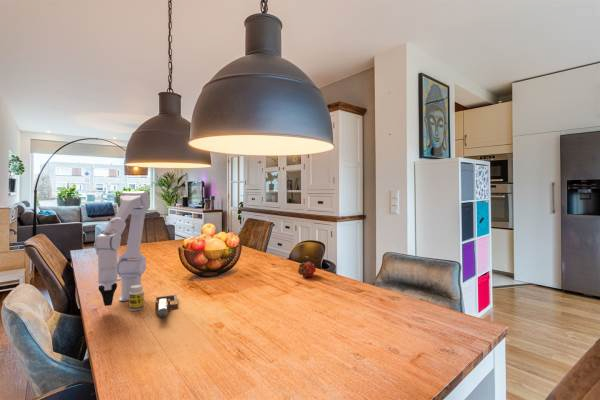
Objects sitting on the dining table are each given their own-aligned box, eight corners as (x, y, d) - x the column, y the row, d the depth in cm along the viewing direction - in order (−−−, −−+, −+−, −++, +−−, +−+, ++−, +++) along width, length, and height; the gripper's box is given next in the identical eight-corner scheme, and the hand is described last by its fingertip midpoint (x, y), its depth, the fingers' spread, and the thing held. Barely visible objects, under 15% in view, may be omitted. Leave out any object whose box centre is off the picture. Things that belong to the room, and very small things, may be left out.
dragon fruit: (300, 282, 151) (309, 280, 162) (314, 274, 149) (322, 271, 160) (292, 267, 154) (301, 266, 165) (305, 259, 152) (313, 258, 163)
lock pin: (158, 306, 111) (158, 297, 111) (167, 305, 113) (167, 296, 113) (157, 319, 100) (157, 309, 100) (168, 317, 101) (167, 308, 101)
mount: (156, 300, 121) (156, 290, 121) (176, 298, 124) (176, 288, 124) (155, 313, 108) (155, 302, 108) (177, 310, 111) (177, 299, 111)
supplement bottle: (127, 311, 110) (127, 288, 110) (131, 307, 115) (130, 284, 115) (142, 310, 111) (141, 287, 111) (145, 305, 116) (144, 283, 116)
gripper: (121, 270, 105) (121, 309, 105) (120, 262, 117) (120, 297, 118) (96, 272, 101) (97, 313, 102) (98, 264, 114) (98, 300, 114)
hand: (108, 305), depth 109 cm, fingers closed
